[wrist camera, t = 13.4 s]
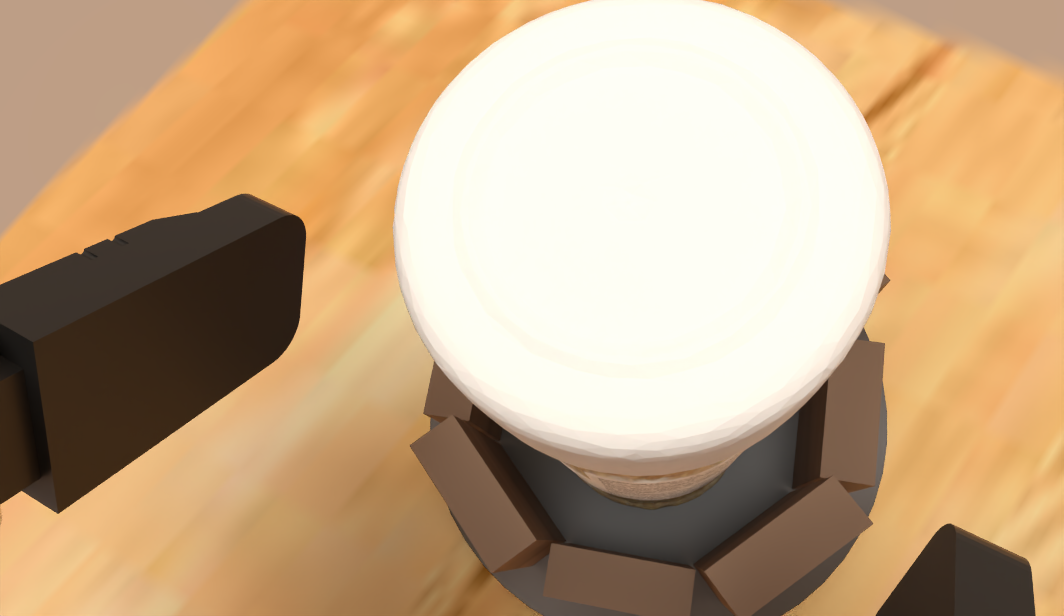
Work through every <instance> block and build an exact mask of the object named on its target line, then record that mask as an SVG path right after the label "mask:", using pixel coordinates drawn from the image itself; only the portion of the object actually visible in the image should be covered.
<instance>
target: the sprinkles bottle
mask: <svg viewBox="0 0 1064 616" xmlns="http://www.w3.org/2000/svg"><path fill="white" fill-rule="evenodd" d="M394 211H395V216H394V223H393V236H394V250H395V264H396V270H397V275H398V280H399V285H400V289H401V292H402V295H403V298H404V301H405V304H406V307H407V309H408V312H409V314H410V317H411V319H412V322H413V324H414V327H415V329H416V331H417V333H418V335H419V336H420V338H421V340H422V341H423V343H424V345H425V347H426V348H427V350H428V352H429V353H430V355H431V356H432V358H433V360H434V361H435V362H436V364H437V365H438V366H439V367H440V369H441V370H442V371H443V372H444V374H445V375H446V376H447V377H448V378H449V379H450V381H451V382H452V383H453V384H454V385H455V386H456V387H457V388H458V389H459V390H460V391H461V392H462V393H463V394H464V395H465V396H466V397H467V398H468V399H469V400H470V401H471V402H472V403H473V404H474V405H475V406H476V407H478V408H479V409H480V410H481V411H482V412H483V413H485V414H486V415H487V416H488V417H490V418H491V419H492V420H493V421H495V422H496V423H497V424H499V425H500V426H501V427H502V428H504V429H505V430H507V431H508V432H509V433H511V434H512V435H514V436H515V437H517V438H518V439H519V440H521V441H522V442H524V443H526V444H527V445H529V446H531V447H532V448H534V449H536V450H538V451H540V452H542V453H544V454H546V455H548V456H550V457H552V458H555V459H557V460H560V461H561V462H562V463H563V464H564V465H566V466H567V467H568V468H569V469H571V470H572V471H573V472H574V473H576V474H577V476H578V477H579V478H580V479H581V480H582V481H583V482H584V483H586V484H587V485H589V486H590V487H591V488H592V489H593V490H595V491H596V492H597V493H599V494H600V495H602V496H604V497H606V498H608V499H610V500H612V501H614V502H617V503H620V504H623V505H628V506H633V507H639V508H643V509H650V510H654V509H660V508H663V507H668V506H677V505H680V504H683V503H686V502H689V501H691V500H693V499H695V498H697V497H699V496H701V495H702V494H703V493H705V492H706V491H707V490H708V489H710V488H712V487H713V486H714V485H715V484H716V483H717V482H718V481H719V480H720V479H721V477H722V476H723V474H724V473H725V471H726V469H727V468H728V467H729V466H730V465H731V464H732V463H733V462H734V461H735V459H736V458H737V457H738V456H739V455H740V454H741V453H742V452H743V451H744V450H746V449H748V448H749V447H751V446H752V445H754V444H756V443H757V442H759V441H760V440H762V439H764V438H765V437H767V436H768V435H769V434H771V433H772V432H773V431H774V430H776V429H777V428H778V427H779V426H781V425H782V424H783V423H784V422H786V421H787V420H788V419H789V418H791V417H792V416H793V415H794V414H795V413H796V412H797V411H798V410H799V409H800V408H801V407H802V406H803V405H804V404H805V403H806V402H807V401H808V400H809V399H810V398H811V397H812V396H813V395H814V394H815V393H816V392H817V391H818V390H819V389H820V388H821V386H822V385H823V384H824V383H825V382H826V380H827V379H828V378H829V377H830V376H831V374H832V373H833V372H834V371H835V369H836V368H837V367H838V366H839V365H840V363H841V362H842V361H843V360H844V358H845V357H846V355H847V354H848V352H849V350H850V349H851V347H852V346H853V344H854V343H855V341H856V339H857V338H858V336H859V335H860V333H861V331H862V329H863V327H864V325H865V323H866V322H867V320H868V318H869V316H870V314H871V312H872V309H873V307H874V304H875V301H876V298H877V295H878V292H879V289H880V286H881V283H882V280H883V276H884V273H885V267H886V260H887V253H888V246H889V239H890V232H891V222H890V204H889V193H888V186H887V182H886V177H885V173H884V169H883V165H882V162H881V159H880V156H879V153H878V149H877V147H876V144H875V141H874V139H873V136H872V134H871V131H870V129H869V127H868V125H867V123H866V121H865V119H864V117H863V115H862V114H861V112H860V110H859V109H858V107H857V105H856V104H855V102H854V100H853V99H852V97H851V96H850V95H849V93H848V92H847V91H846V89H845V88H844V87H843V85H842V84H841V83H840V82H839V80H838V79H837V78H836V77H835V76H834V75H833V74H832V73H831V72H830V71H829V70H828V69H827V68H826V67H825V65H824V64H823V63H822V62H821V61H820V60H819V59H818V58H817V57H816V56H815V55H813V54H812V53H811V52H810V51H808V50H807V49H806V48H805V47H803V46H802V45H801V44H799V43H798V42H797V41H795V40H794V39H792V38H791V37H789V36H787V35H786V34H784V33H783V32H781V31H779V30H778V29H776V28H774V27H773V26H771V25H769V24H767V23H765V22H763V21H761V20H759V19H757V18H756V17H754V16H751V15H749V14H746V13H743V12H741V11H738V10H735V9H733V8H730V7H727V6H725V5H722V4H717V3H713V2H708V1H703V0H591V1H587V2H583V3H579V4H575V5H571V6H568V7H565V8H562V9H559V10H556V11H553V12H551V13H548V14H546V15H544V16H542V17H539V18H537V19H535V20H533V21H530V22H528V23H526V24H525V25H523V26H521V27H519V28H518V29H516V30H514V31H512V32H511V33H509V34H507V35H506V36H504V37H502V38H501V39H499V40H498V41H496V42H495V43H493V44H492V45H491V46H489V47H488V48H487V49H485V50H484V51H483V52H482V53H481V54H479V55H478V56H477V57H476V58H475V59H474V60H472V61H471V62H470V63H469V64H468V65H467V66H466V67H465V68H464V69H463V70H462V71H461V72H460V73H459V74H458V75H457V76H456V77H455V79H454V80H453V81H452V82H451V83H450V84H449V85H448V86H447V87H446V89H445V90H444V91H443V93H442V94H441V95H440V96H439V98H438V99H437V100H436V102H435V103H434V105H433V107H432V108H431V110H430V111H429V113H428V114H427V116H426V118H425V120H424V121H423V123H422V125H421V127H420V128H419V130H418V132H417V134H416V136H415V139H414V141H413V143H412V145H411V148H410V151H409V153H408V156H407V159H406V161H405V164H404V167H403V170H402V174H401V178H400V181H399V185H398V190H397V198H396V203H395V208H394Z"/></svg>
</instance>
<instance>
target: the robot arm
mask: <svg viewBox="0 0 1064 616" xmlns="http://www.w3.org/2000/svg"><path fill="white" fill-rule="evenodd" d="M305 244H306V230H305V226H304V223H303V221H302V220H301V219H300V218H299V217H298V216H295V215H293V214H291V213H289V212H287V211H285V210H283V209H280V208H278V207H276V206H274V205H272V204H270V203H268V202H265V201H263V200H261V199H259V198H257V197H255V196H253V195H250V194H240V195H237V196H234V197H232V198H230V199H228V200H225V201H223V202H221V203H219V204H216V205H214V206H212V207H210V208H207V209H205V210H203V211H201V212H198V213H197V212H196V213H190V214H184V215H178V216H172V217H167V218H161V219H155V220H151V221H149V222H146V223H144V224H142V225H139V226H137V227H135V228H132V229H130V230H128V231H125V232H123V233H121V234H118V235H116V236H115V238H114V240H113V241H110V240H108V239H106V240H104V241H102V242H99V243H97V244H95V245H92V246H90V247H88V248H85V249H84V252H83V253H82V254H81V255H80V254H78V253H74V254H71V255H69V256H67V257H64V258H62V259H60V260H57V261H55V262H53V263H50V264H48V265H45V266H43V267H41V268H38V269H36V270H34V271H31V272H29V273H27V274H24V275H22V276H20V277H17V278H15V279H13V280H10V281H8V282H6V283H3V284H1V285H0V525H1V521H2V509H1V504H2V503H3V502H5V501H6V500H8V499H10V498H11V497H13V496H14V495H16V494H17V493H19V492H20V491H23V492H24V493H26V494H28V495H29V496H31V497H32V498H34V499H35V500H37V501H39V502H40V503H42V504H43V505H45V506H46V507H48V508H50V509H51V510H53V511H54V512H56V513H57V514H59V513H60V512H62V511H63V510H64V509H66V508H67V507H69V506H70V505H71V504H73V503H74V502H76V501H77V500H79V499H80V498H81V497H83V496H84V495H86V494H87V493H88V492H90V491H91V490H93V489H94V488H96V487H97V486H98V485H100V484H101V483H103V482H104V481H106V480H107V479H108V478H110V477H111V476H113V475H114V474H115V473H117V472H118V471H120V470H121V469H123V468H124V467H125V466H127V465H128V464H130V463H131V462H132V461H134V460H135V459H137V458H138V457H140V456H141V455H142V454H144V453H145V452H147V451H148V450H149V449H151V448H152V447H154V446H155V445H157V444H158V443H159V442H161V441H162V440H164V439H165V438H167V437H168V436H169V435H171V434H172V433H174V432H175V431H176V430H178V429H179V428H181V427H182V426H184V425H185V424H186V423H188V422H189V421H191V420H192V419H193V418H195V417H196V416H198V415H199V414H201V413H202V412H203V411H205V410H206V409H208V408H209V407H210V406H212V405H213V404H215V403H216V402H218V401H219V400H220V399H222V398H223V397H225V396H226V395H228V394H229V393H230V392H232V391H233V390H235V389H236V388H237V387H239V386H240V385H242V384H243V383H245V382H246V381H247V380H249V379H250V378H252V377H253V376H254V375H256V374H257V373H259V372H260V371H262V370H263V369H264V368H266V367H267V366H269V365H270V364H272V363H273V362H274V361H275V360H277V359H278V358H279V357H280V356H281V355H282V354H283V352H284V351H285V350H286V349H287V347H288V346H289V344H290V343H291V341H292V339H293V337H294V335H295V333H296V330H297V327H298V324H299V319H300V309H301V296H302V283H303V270H304V257H305ZM876 616H1035V605H1034V594H1033V582H1032V572H1031V566H1030V564H1029V562H1028V561H1027V560H1026V559H1025V558H1023V557H1021V556H1019V555H1017V554H1014V553H1012V552H1010V551H1008V550H1006V549H1004V548H1002V547H999V546H997V545H995V544H993V543H991V542H989V541H987V540H984V539H982V538H980V537H978V536H976V535H974V534H972V533H969V532H967V531H965V530H963V529H961V528H959V527H957V526H955V525H952V524H946V525H944V526H943V527H941V528H940V529H939V530H938V531H937V532H936V534H935V535H934V536H933V537H932V539H931V540H930V541H929V543H928V544H927V545H926V547H925V548H924V550H923V551H922V552H921V554H920V555H919V556H918V558H917V559H916V560H915V562H914V563H913V565H912V566H911V567H910V569H909V570H908V571H907V573H906V574H905V576H904V577H903V578H902V580H901V581H900V582H899V584H898V585H897V586H896V588H895V589H894V591H893V592H892V593H891V595H890V596H889V597H888V599H887V600H886V601H885V603H884V604H883V606H882V607H881V608H880V610H879V611H878V613H877V614H876Z"/></svg>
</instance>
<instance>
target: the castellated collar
mask: <svg viewBox="0 0 1064 616" xmlns="http://www.w3.org/2000/svg"><path fill="white" fill-rule="evenodd" d="M889 281H890V279H889V278H888V277H887V276H886V275H885V274H884V276H883V280H882V283H881V286H880V289H879V292H878V294H879V293H880V291H881V290H882V289H883V288H884V287H885V286H886V285H887V284H888V282H889ZM884 349H885V343H879V342H871V341H869V339H868V336H867V334H866V332H865V329H864V327H863V329H862V331H861V333H860V335H859V336H858V338H857V339H856V341H855V343H854V344H853V346H852V347H851V349H850V350H849V352H848V354H847V355H846V357H845V358H844V360H843V361H842V362H841V363H840V365H839V366H838V367H837V368H836V369H835V371H834V372H833V373H832V374H831V376H830V377H829V378H828V379H827V380H826V382H825V383H824V384H823V385H822V386H821V388H820V389H819V390H818V391H817V392H816V393H815V394H814V395H813V396H812V397H811V398H810V399H809V400H808V401H807V402H806V403H805V404H804V405H803V406H802V407H801V408H800V409H799V410H798V411H797V412H796V413H795V414H794V415H793V416H792V417H791V418H789V419H788V420H787V421H786V422H784V423H783V424H782V425H781V426H779V427H778V428H777V429H776V430H774V431H773V432H772V433H771V434H769V435H768V436H767V437H765V438H764V439H762V440H760V441H759V442H757V443H756V444H754V445H752V446H751V447H749V448H748V449H746V450H744V451H743V452H742V453H741V454H740V455H739V456H738V457H737V458H736V459H735V461H734V462H733V463H732V464H731V465H730V466H729V467H728V468H727V469H726V471H725V473H724V474H723V476H722V477H721V479H720V480H719V481H718V482H717V483H716V484H715V485H714V486H713V487H712V488H710V489H708V490H707V491H706V492H705V493H703V494H702V495H701V496H699V497H697V498H695V499H693V500H691V501H689V502H686V503H683V504H680V505H677V506H668V507H663V508H660V509H654V510H650V509H643V508H639V507H633V506H628V505H623V504H620V503H617V502H614V501H612V500H610V499H608V498H606V497H604V496H602V495H600V494H599V493H597V492H596V491H595V490H593V489H592V488H591V487H590V486H589V485H587V484H586V483H584V482H583V481H582V480H581V479H580V478H579V477H578V476H577V474H576V473H574V472H573V471H572V470H571V469H569V468H568V467H567V466H566V465H564V464H563V463H562V462H561V461H560V460H557V459H555V458H552V457H550V456H548V455H546V454H544V453H542V452H540V451H538V450H536V449H534V448H532V447H531V446H529V445H527V444H526V443H524V442H522V441H521V440H519V439H518V438H517V437H515V436H514V435H512V434H511V433H509V432H508V431H507V430H505V429H504V428H502V427H501V426H500V425H499V424H497V423H496V422H495V421H493V420H492V419H491V418H490V417H488V416H487V415H486V414H485V413H483V412H482V411H481V410H480V409H479V408H478V407H476V406H475V405H474V404H473V403H472V402H471V401H470V400H469V399H468V398H467V397H466V396H465V395H464V394H463V393H462V392H461V391H460V390H459V389H458V388H457V387H456V386H455V385H454V384H453V383H452V382H451V381H450V379H449V378H448V377H447V376H446V375H445V374H444V372H443V371H442V370H441V369H440V367H439V366H438V365H437V364H436V362H435V361H434V365H433V370H432V375H431V379H430V384H429V389H428V394H427V399H426V403H425V408H424V413H423V414H425V415H427V416H429V417H430V418H431V422H430V431H429V432H428V433H426V434H425V435H424V436H422V437H421V438H419V439H418V440H417V441H415V442H414V443H412V444H411V445H410V447H411V449H412V450H413V452H414V453H415V455H416V456H417V458H418V460H419V461H420V463H421V464H422V466H423V467H424V469H425V470H426V472H427V474H428V475H429V477H430V478H431V480H432V481H433V483H434V485H435V486H436V488H437V489H438V491H439V492H440V494H441V496H442V497H443V499H444V500H445V502H446V503H447V505H448V507H449V510H450V513H451V515H452V517H453V519H454V520H455V522H456V524H457V526H458V528H459V530H460V531H461V533H462V535H463V537H464V539H465V541H466V542H467V543H468V545H469V546H470V547H471V549H472V550H473V552H474V553H475V554H476V556H477V557H478V558H479V560H480V561H481V562H482V564H483V565H484V566H485V567H486V568H487V569H488V570H489V572H490V573H491V574H492V575H493V576H494V577H495V578H496V579H497V580H498V581H499V582H500V583H501V584H502V585H503V586H504V587H505V588H506V589H507V590H509V591H510V592H511V593H512V594H514V595H515V596H516V597H517V598H519V599H520V600H521V601H522V602H524V603H525V604H526V605H527V606H529V607H530V608H532V609H533V610H535V611H537V612H538V613H540V614H542V615H543V616H781V615H783V614H785V613H786V612H788V611H789V610H791V609H792V608H794V607H795V606H797V605H799V604H800V603H801V602H802V601H803V600H804V599H806V598H807V597H808V596H809V595H810V594H811V593H813V592H814V591H815V590H816V589H817V588H818V587H819V586H821V585H822V584H823V583H824V582H825V581H826V579H827V578H828V577H829V576H830V575H831V574H832V572H833V571H834V570H835V569H836V568H837V567H838V565H839V564H840V563H841V562H842V561H843V560H844V558H845V557H846V555H847V554H848V552H849V551H850V549H851V547H852V546H853V544H854V543H855V541H856V539H857V538H858V536H859V535H860V533H862V532H863V531H864V530H866V529H867V528H868V527H870V526H871V525H872V524H873V523H872V521H871V520H870V519H869V518H868V516H869V514H870V511H871V509H872V507H873V505H874V502H875V498H876V495H877V491H878V488H879V484H880V481H881V477H882V474H883V467H884V460H885V453H886V446H887V409H886V402H885V395H884V388H883V381H882V378H883V364H884Z"/></svg>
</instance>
